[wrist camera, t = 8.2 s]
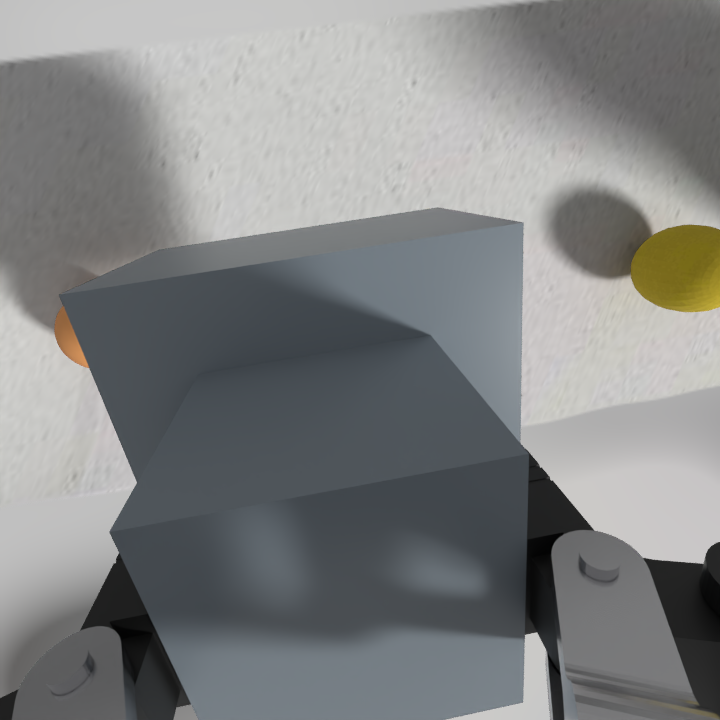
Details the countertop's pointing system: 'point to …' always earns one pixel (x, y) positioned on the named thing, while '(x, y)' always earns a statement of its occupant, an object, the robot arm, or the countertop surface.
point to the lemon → (680, 268)
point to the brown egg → (68, 339)
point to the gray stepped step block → (324, 463)
